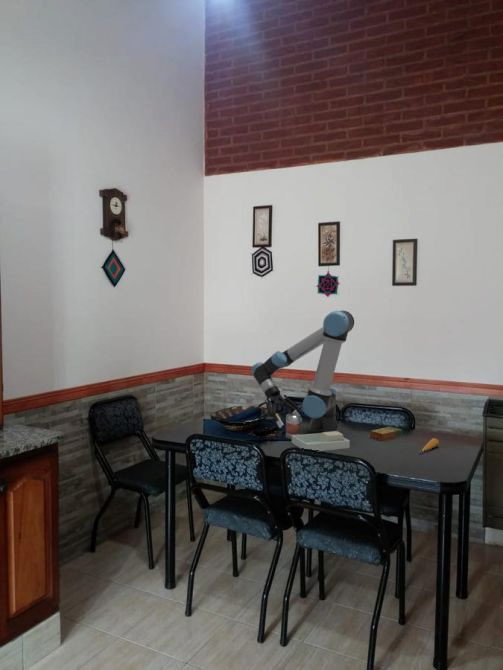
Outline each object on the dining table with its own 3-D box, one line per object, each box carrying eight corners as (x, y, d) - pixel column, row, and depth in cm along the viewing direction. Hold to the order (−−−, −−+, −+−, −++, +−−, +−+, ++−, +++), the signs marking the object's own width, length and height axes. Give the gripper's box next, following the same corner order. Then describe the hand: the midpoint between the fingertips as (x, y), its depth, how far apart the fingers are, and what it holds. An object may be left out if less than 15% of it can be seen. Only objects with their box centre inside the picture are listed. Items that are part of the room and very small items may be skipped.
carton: (369, 438, 277) (369, 430, 277) (388, 433, 287) (388, 425, 287) (383, 442, 271) (383, 433, 270) (402, 437, 281) (402, 428, 281)
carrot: (433, 447, 266) (429, 438, 266) (441, 445, 263) (438, 436, 263) (415, 460, 251) (412, 450, 251) (424, 458, 248) (421, 449, 248)
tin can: (296, 436, 277) (296, 413, 276) (302, 440, 270) (303, 416, 269) (283, 437, 274) (283, 414, 273) (289, 441, 268) (290, 417, 267)
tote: (332, 441, 270) (332, 432, 270) (349, 450, 255) (349, 440, 255) (291, 444, 262) (291, 435, 262) (306, 454, 247) (307, 444, 247)
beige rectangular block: (336, 443, 262) (336, 431, 262) (342, 446, 257) (343, 434, 256) (321, 444, 259) (321, 432, 259) (327, 448, 254) (328, 435, 253)
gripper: (283, 391, 292) (303, 424, 283) (248, 396, 275) (269, 432, 266) (291, 382, 288) (312, 416, 278) (256, 387, 271) (277, 423, 261)
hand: (291, 424), depth 272 cm, fingers open, 13 cm apart
